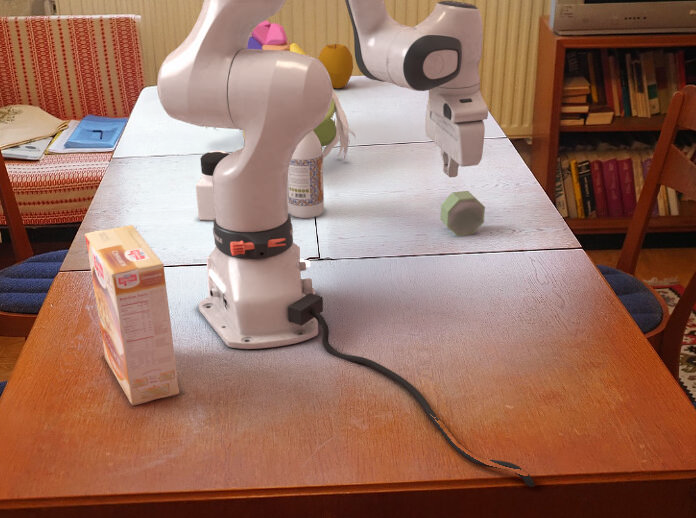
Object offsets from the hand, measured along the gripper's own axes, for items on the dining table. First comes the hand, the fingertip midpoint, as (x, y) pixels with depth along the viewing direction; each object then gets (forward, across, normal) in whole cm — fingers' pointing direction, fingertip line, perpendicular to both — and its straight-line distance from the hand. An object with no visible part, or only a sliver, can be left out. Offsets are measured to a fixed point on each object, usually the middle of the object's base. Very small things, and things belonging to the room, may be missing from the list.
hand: (450, 174), depth 178 cm
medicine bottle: (+8, -15, -41) cm, 44 cm away
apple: (+9, -99, +3) cm, 99 cm away
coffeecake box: (+8, +43, -61) cm, 75 cm away
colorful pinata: (+9, -47, -23) cm, 53 cm away
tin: (+5, +7, 0) cm, 9 cm away
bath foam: (+8, -11, -25) cm, 29 cm away
